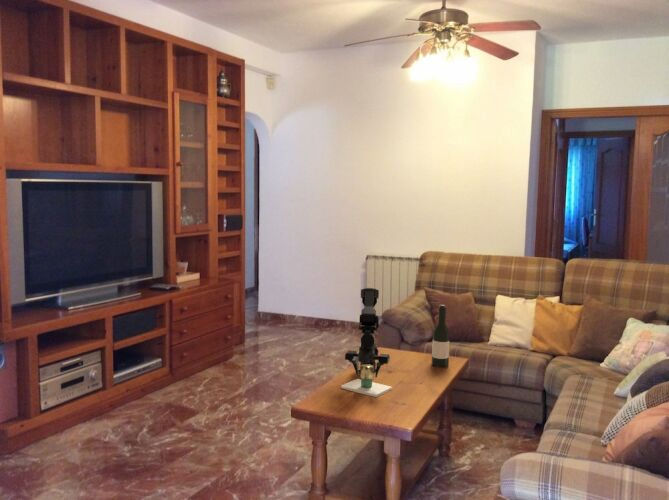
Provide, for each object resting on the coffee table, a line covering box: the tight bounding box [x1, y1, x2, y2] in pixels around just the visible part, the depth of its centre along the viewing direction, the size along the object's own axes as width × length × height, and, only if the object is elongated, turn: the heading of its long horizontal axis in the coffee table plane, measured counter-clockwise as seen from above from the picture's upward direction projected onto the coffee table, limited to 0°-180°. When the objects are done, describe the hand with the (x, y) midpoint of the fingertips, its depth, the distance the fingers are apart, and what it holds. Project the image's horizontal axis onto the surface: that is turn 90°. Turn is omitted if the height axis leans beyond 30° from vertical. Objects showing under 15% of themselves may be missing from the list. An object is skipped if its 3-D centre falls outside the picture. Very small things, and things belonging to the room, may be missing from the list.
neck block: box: [340, 377, 393, 398], centre depth 267 cm, size 18×13×5 cm
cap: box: [360, 364, 374, 380], centre depth 266 cm, size 5×6×5 cm
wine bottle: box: [431, 304, 451, 368], centre depth 303 cm, size 8×8×30 cm
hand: (366, 376), depth 267 cm, fingers open, 8 cm apart
